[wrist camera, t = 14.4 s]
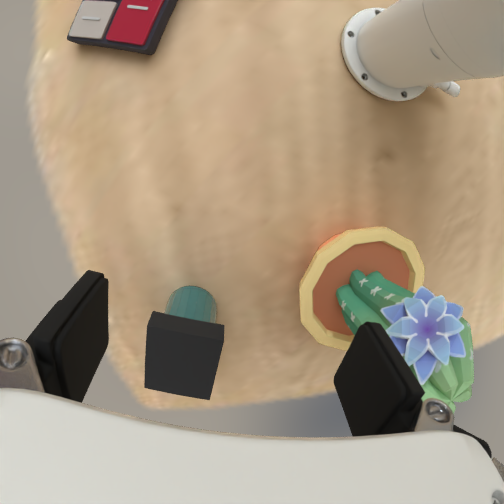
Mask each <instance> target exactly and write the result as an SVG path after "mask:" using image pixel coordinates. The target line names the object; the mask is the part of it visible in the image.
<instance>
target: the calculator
mask: <svg viewBox="0 0 504 504" xmlns="http://www.w3.org/2000/svg"><path fill="white" fill-rule="evenodd" d="M177 1H178V0H83V1H82V3H81V5H80V7H79V9H78V12H77V14H76V16H75V19H74V21H73V23H72V26H71V28H70V31H69V33H68V36H67V40H69V41H71V42H74V43H77V44H83V45H92V46H100V47H107V48H114V49H120V50H126V51H132V52H137V53H143V54H148V55H152V54H154V53H155V51H156V48H157V46H158V43H159V41H160V39H161V36H162V34H163V31H164V29H165V27H166V25H167V22H168V20H169V18H170V16H171V14H172V11H173V9H174V7H175V5H176V3H177Z"/></svg>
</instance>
